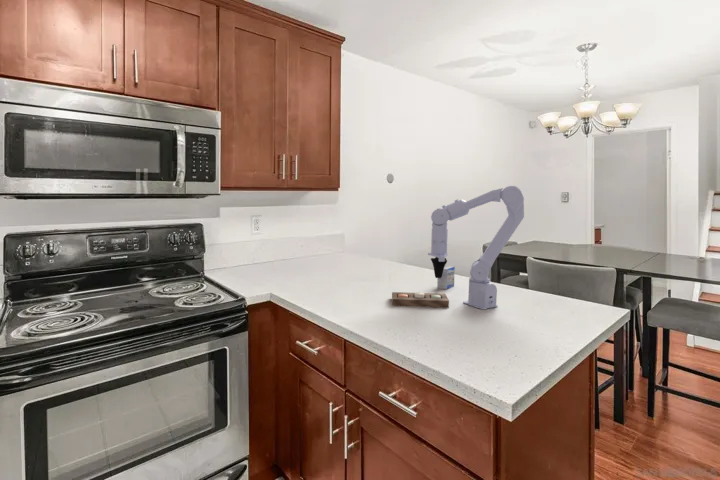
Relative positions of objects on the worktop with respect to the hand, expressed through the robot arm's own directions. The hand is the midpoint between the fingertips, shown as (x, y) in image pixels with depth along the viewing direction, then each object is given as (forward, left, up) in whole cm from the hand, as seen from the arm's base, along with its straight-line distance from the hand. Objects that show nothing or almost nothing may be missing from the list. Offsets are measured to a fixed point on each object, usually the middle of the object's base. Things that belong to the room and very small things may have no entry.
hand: (438, 277), depth 146 cm
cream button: (+1, +8, -9) cm, 12 cm away
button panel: (+1, +8, -9) cm, 12 cm away
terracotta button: (+5, +13, -10) cm, 17 cm away
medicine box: (+15, -18, -9) cm, 25 cm away
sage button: (-2, +3, -10) cm, 10 cm away
